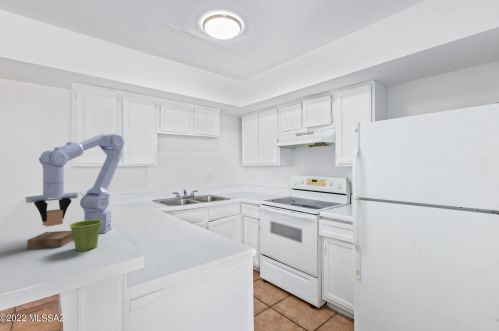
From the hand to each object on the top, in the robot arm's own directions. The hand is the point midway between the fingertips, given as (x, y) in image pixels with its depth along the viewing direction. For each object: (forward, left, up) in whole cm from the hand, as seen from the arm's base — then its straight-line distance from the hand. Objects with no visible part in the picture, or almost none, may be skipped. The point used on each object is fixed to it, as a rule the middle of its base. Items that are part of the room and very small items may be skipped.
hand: (53, 220), depth 85 cm
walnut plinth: (0, 0, -8) cm, 8 cm away
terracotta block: (0, 0, -2) cm, 2 cm away
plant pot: (-14, +8, -9) cm, 18 cm away
